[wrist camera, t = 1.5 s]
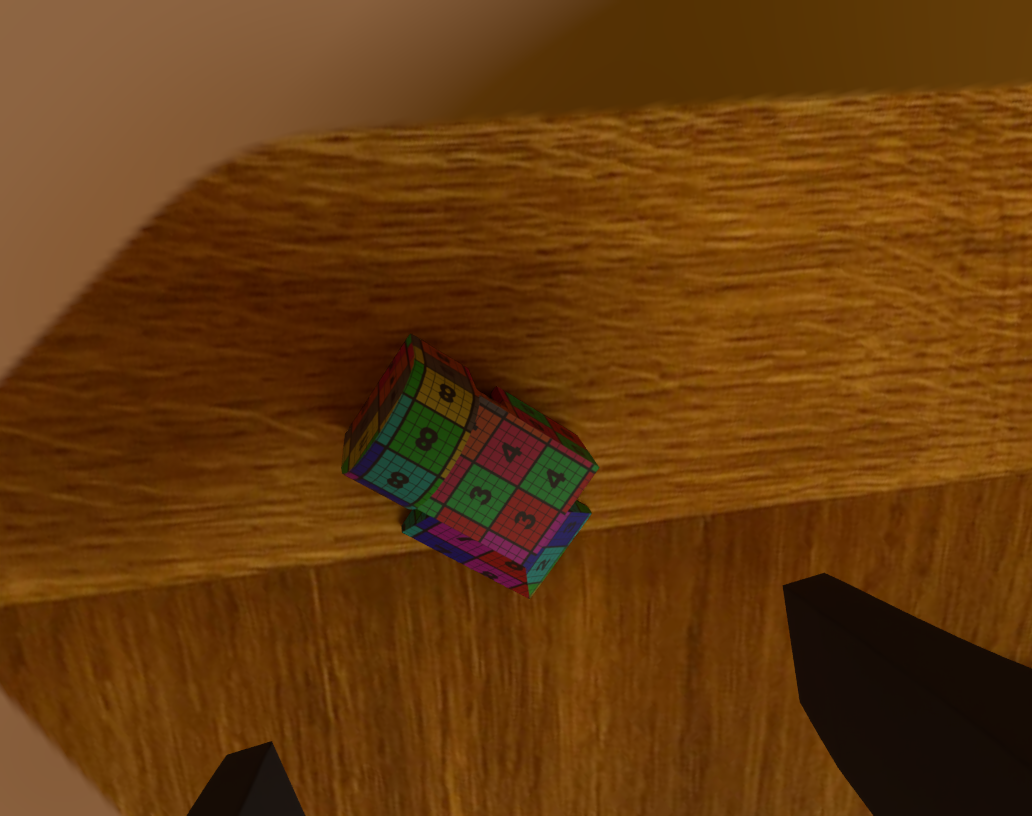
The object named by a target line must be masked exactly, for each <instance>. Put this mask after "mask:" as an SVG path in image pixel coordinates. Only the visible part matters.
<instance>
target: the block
mask: <svg viewBox="0 0 1032 816" xmlns="http://www.w3.org/2000/svg"><path fill="white" fill-rule="evenodd" d="M490 395H491V397H492V399H491V398H489V397H488V396H486V395H484V394H483V393H481V392H480V391H478V390H477V389H476V387H475V384H474V382H473V379H472V377H471V374H470V372H469V370H468V368H466V367H465V366H463V365H461V364H460V363H458V362H456V361H455V360H453V359H451V358H450V357H448V356H447V355H445V354H443V353H442V352H440V351H438V350H437V349H435V348H434V347H432V346H430V345H429V344H427V343H425V342H424V341H422V340H420V339H419V338H417V337H416V336H414V335H412V334H411V333H410V335H409V336H408V338H407V339H406V341H405V342H404V344H403V346H402V347H401V349H400V350H399V352H398V353H397V355H396V356H395V358H394V359H393V361H392V363H391V364H390V366H389V367H388V369H387V370H386V372H385V373H384V375H383V377H382V378H381V380H380V381H379V383H378V384H377V386H376V387H375V389H374V390H373V392H372V394H371V395H370V397H369V398H368V400H367V401H366V403H365V404H364V406H363V407H362V409H361V411H360V412H359V414H358V415H357V417H356V418H355V420H354V421H353V423H352V425H351V426H350V428H349V429H348V431H347V432H346V434H345V439H344V448H343V458H342V467H341V469H342V474H344V475H346V476H347V477H349V478H351V479H353V480H355V481H357V482H359V483H361V484H362V485H364V486H366V487H368V488H370V489H372V490H374V491H376V492H377V493H379V494H381V495H383V496H385V497H387V498H389V499H391V500H392V501H394V502H396V503H398V504H400V505H402V506H404V507H405V508H407V509H413V510H412V511H411V513H410V514H409V515H408V517H407V518H406V520H405V521H404V523H403V524H402V533H404V534H406V535H408V536H410V537H412V538H414V539H416V540H418V541H420V542H421V543H423V544H425V545H427V546H429V547H431V548H433V549H435V550H437V551H439V552H441V553H443V554H444V555H446V556H448V557H450V558H452V559H454V560H456V561H458V562H460V563H462V564H464V565H466V566H467V567H469V568H471V569H473V570H475V571H477V572H479V573H481V574H483V575H485V576H487V577H488V578H490V579H492V580H494V581H496V582H498V583H500V584H502V585H504V586H506V587H508V588H510V589H511V590H513V591H515V592H517V593H519V594H521V595H523V596H525V597H527V598H529V599H530V598H531V597H532V595H533V594H534V592H535V591H536V590H537V588H538V587H539V585H540V584H541V583H542V581H543V580H544V579H545V577H546V576H547V574H548V573H549V572H550V570H551V569H552V568H553V566H554V565H555V563H556V562H557V561H558V559H559V558H560V556H561V555H562V554H563V552H564V551H565V550H566V548H567V547H568V545H569V544H570V543H571V541H572V540H573V539H574V537H575V536H576V534H577V533H578V532H579V530H580V529H581V528H582V526H583V525H584V523H585V522H586V521H587V519H588V518H589V516H590V515H591V514H592V513H591V511H590V509H589V508H588V507H587V506H585V505H583V504H582V503H580V502H578V501H576V499H577V498H578V497H579V495H580V494H581V492H582V491H583V490H584V488H585V487H586V485H587V484H588V483H589V481H590V480H591V478H592V477H593V476H594V474H595V473H596V471H597V470H598V469H599V466H598V465H597V463H596V462H595V460H594V459H593V457H592V456H591V455H590V453H589V452H588V450H587V449H586V447H585V446H584V444H583V443H582V442H581V440H580V439H579V437H578V436H577V435H576V434H574V433H572V432H571V431H569V430H567V429H566V428H564V427H563V426H561V425H559V424H558V423H556V422H554V421H553V420H551V419H549V418H548V417H546V416H545V415H543V414H541V413H540V412H538V411H536V410H535V409H533V408H531V407H530V406H528V405H527V404H525V403H523V402H522V401H520V400H518V399H517V398H515V397H514V396H512V395H510V394H509V393H507V392H505V391H504V390H502V389H500V388H499V387H497V386H496V387H495V388H494V390H493V391H492V393H491V394H490Z"/></svg>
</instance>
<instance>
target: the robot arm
mask: <svg viewBox="0 0 1032 816" xmlns="http://www.w3.org/2000/svg"><path fill="white" fill-rule="evenodd" d="M783 591H784V598H785V605H786V612H787V618H788V625H789V632H790V639H791V646H792V652H793V659H794V666H795V673H796V679H797V686H798V693H799V700H800V703H801V705H802V707H803V708H804V710H805V712H806V714H807V715H808V717H809V719H810V721H811V722H812V724H813V726H814V728H815V729H816V731H817V733H818V735H819V736H820V738H821V740H822V742H823V743H824V745H825V747H826V748H827V750H828V752H829V753H830V755H831V757H832V758H833V760H834V762H835V763H836V765H837V767H838V768H839V770H840V771H841V772H842V774H843V775H844V776H845V778H846V779H847V781H848V782H849V783H850V785H851V786H852V787H853V789H854V790H855V791H856V793H857V794H858V795H859V797H860V798H861V799H862V801H863V802H864V803H865V805H866V806H867V807H868V809H869V810H870V811H871V813H872V814H873V815H874V816H1032V669H1031V668H1029V667H1026V666H1024V665H1021V664H1019V663H1016V662H1014V661H1012V660H1009V659H1007V658H1004V657H1002V656H1000V655H997V654H995V653H993V652H990V651H988V650H986V649H983V648H981V647H979V646H977V645H974V644H972V643H970V642H968V641H965V640H963V639H961V638H959V637H957V636H954V635H952V634H950V633H948V632H946V631H944V630H942V629H939V628H937V627H935V626H933V625H931V624H929V623H927V622H925V621H923V620H920V619H918V618H916V617H914V616H912V615H910V614H908V613H906V612H904V611H902V610H900V609H898V608H896V607H894V606H892V605H890V604H888V603H886V602H884V601H881V600H879V599H877V598H875V597H873V596H871V595H869V594H867V593H865V592H863V591H861V590H859V589H857V588H855V587H853V586H851V585H849V584H847V583H845V582H843V581H841V580H839V579H837V578H835V577H832V576H830V575H828V574H826V573H822V574H819V575H815V576H812V577H809V578H806V579H802V580H799V581H796V582H792V583H789V584H786V585H783ZM187 816H305V814H304V812H303V810H302V807H301V805H300V803H299V801H298V798H297V796H296V794H295V792H294V790H293V787H292V785H291V783H290V781H289V778H288V776H287V774H286V772H285V770H284V767H283V765H282V763H281V761H280V758H279V756H278V754H277V752H276V750H275V747H274V745H273V743H272V741H271V742H267V743H264V744H261V745H258V746H254V747H251V748H248V749H244V750H241V751H238V752H235V753H231V754H228V755H226V757H225V758H224V760H223V761H222V763H221V764H220V766H219V767H218V768H217V770H216V771H215V773H214V774H213V776H212V777H211V779H210V780H209V782H208V784H207V785H206V787H205V788H204V790H203V791H202V793H201V794H200V796H199V797H198V799H197V800H196V802H195V804H194V805H193V807H192V808H191V810H190V811H189V813H188V814H187Z"/></svg>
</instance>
